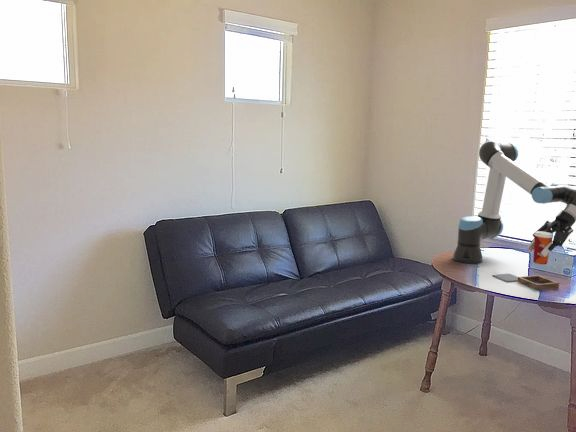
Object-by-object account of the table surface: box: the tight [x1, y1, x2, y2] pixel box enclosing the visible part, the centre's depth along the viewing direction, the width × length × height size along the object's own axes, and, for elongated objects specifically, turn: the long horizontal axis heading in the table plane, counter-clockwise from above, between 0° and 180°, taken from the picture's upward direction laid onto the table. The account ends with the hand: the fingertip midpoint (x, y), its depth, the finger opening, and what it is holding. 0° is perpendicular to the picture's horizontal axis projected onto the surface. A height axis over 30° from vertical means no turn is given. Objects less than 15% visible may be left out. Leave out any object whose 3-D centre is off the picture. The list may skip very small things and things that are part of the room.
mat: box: [491, 273, 519, 283], centre depth 235 cm, size 10×10×1 cm
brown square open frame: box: [516, 274, 560, 291], centre depth 226 cm, size 12×12×2 cm
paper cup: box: [533, 230, 554, 265], centre depth 223 cm, size 8×8×14 cm
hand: (535, 252), depth 222 cm, fingers closed on paper cup, 8 cm apart
